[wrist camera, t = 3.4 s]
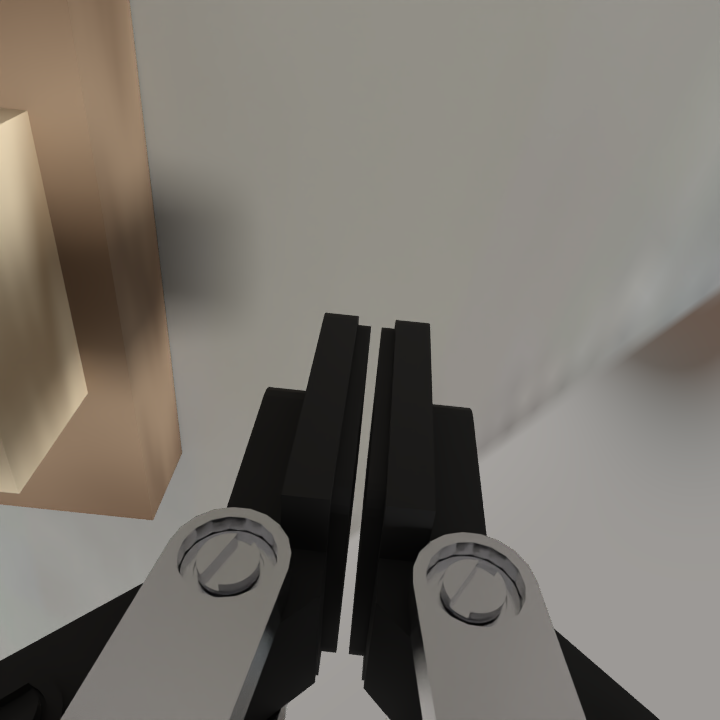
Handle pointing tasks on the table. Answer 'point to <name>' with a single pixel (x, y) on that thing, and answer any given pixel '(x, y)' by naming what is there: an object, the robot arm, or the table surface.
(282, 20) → the table surface
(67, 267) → the plate
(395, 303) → the table surface
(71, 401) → the maple tile
